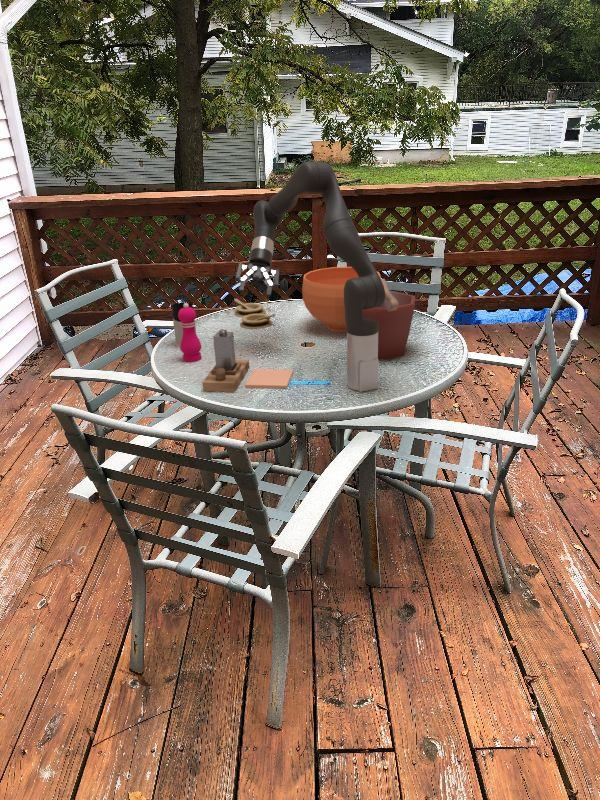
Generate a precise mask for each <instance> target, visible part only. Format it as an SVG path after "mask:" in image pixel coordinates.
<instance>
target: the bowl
mask: <svg viewBox="0 0 600 800" xmlns="http://www.w3.org/2000/svg"><path fill="white" fill-rule="evenodd" d="M377 273H378V275H379V277H380V278H381V279H382V277H381V274H380V271H377ZM358 277H359V276H358V274H357V273H356V271H355V270H354V269H353V268H352V267H351V266H332V267H326V268H325V267H324V268H319V269H315V270H310V271H308V272H307V273H305V274H304V275H303V277H302V278H303V279H302V289H301V291H302V292H301V293H302V294H301V295H302V301H303V303H304V307H305V308H306V309H307V311H308V312H309V313H310V314H311V316H312V317H313V318H315V319H316V320H318V321H319V322H320V323H323V325H325V326H326V327H327V329H328V330H329V331H330V330H331V332H334V331H336V332H335V333H347V326H346V321H345V306H344V286H345V283H346V281H347V280H348V279H352V278H358Z"/></svg>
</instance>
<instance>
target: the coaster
mask: <svg viewBox="0 0 600 800" xmlns="http://www.w3.org/2000/svg"><path fill="white" fill-rule="evenodd" d="M293 372H294V369H258V368H256V369H253V371H252V372H251V374H250V375H249V378H248V379H247V381H246V383H245V385H244V386H245V389H276V388H287V389H288V387H289V385H290V383H289V381H290V382H291V380H292V378H293V375H294V373H293ZM291 377H292V378H291ZM290 379H291V380H290ZM288 384H289V385H288ZM287 386H288V387H287Z"/></svg>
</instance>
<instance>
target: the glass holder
mask: <svg viewBox="0 0 600 800" xmlns="http://www.w3.org/2000/svg"><path fill="white" fill-rule="evenodd" d="M184 303H187V304H188V305H189V307H190V308H193V309H194V304H193V303H192V302H189V301H187V302H186V301H185V302H182V301H181V302H177V303H174V304H172V305H171V311H172V321H173V331H174V338H175V344H174V346H175V345H176V346H177V347H176V346H175V347H176V348H178V347H180V344H181V340H182V337H183V328H182V327H181V320H180V319H179V317H178V313H179V311H180V309H182V308H184V307H183V305H184ZM194 321H195V322H196V319H195V320H194ZM195 332H196V333H197V328H196V325H195Z"/></svg>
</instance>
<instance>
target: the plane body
mask: <svg viewBox="0 0 600 800" xmlns="http://www.w3.org/2000/svg"><path fill="white" fill-rule="evenodd" d="M235 361H236V367H235V369H234V370H233V371H225V369H224V368H218V369H216V364H215V365H214V366H213V367H212V368H211V370H210V372H209V373H208V374H207V376H206V377H205V378H204V379H203V381H202V391H203V392H206V391H227V392H226V393H236V392H237V390H238V388H239V387H238V386H241V383H242V382H243V380H244V378H245V377H244V376H246V375H247V373H248V371H249V370H248V369H250V359H236V358H235ZM245 374H246V375H245ZM241 381H242V382H241ZM235 391H236V392H235Z"/></svg>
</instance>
